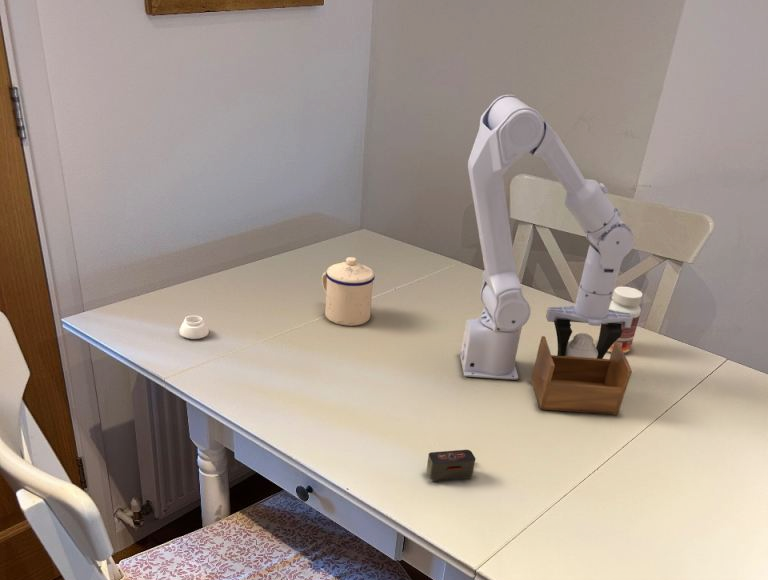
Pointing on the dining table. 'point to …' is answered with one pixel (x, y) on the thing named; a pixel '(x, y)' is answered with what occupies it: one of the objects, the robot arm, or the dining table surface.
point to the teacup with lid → (348, 292)
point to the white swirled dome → (581, 347)
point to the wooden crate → (580, 381)
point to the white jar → (193, 328)
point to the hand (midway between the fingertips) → (578, 359)
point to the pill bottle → (628, 303)
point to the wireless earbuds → (450, 465)
